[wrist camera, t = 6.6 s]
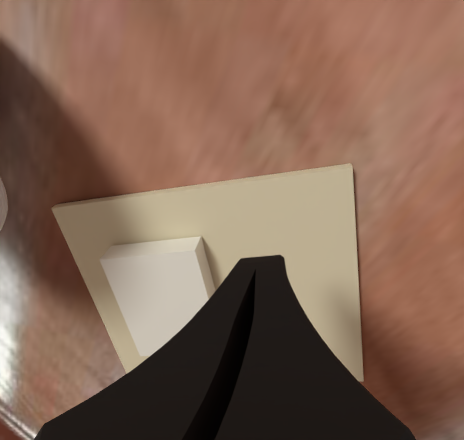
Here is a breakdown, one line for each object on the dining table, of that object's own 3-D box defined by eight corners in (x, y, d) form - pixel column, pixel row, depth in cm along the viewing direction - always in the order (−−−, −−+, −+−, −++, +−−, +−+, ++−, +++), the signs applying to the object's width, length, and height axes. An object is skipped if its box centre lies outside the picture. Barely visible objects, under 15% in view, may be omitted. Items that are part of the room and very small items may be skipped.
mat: (350, 163, 19) (352, 166, 18) (362, 374, 26) (363, 381, 25) (56, 204, 23) (51, 208, 22) (134, 378, 29) (131, 384, 29)
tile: (194, 250, 20) (99, 259, 21) (223, 353, 23) (140, 356, 25) (201, 234, 21) (112, 244, 23) (227, 333, 25) (148, 337, 26)
